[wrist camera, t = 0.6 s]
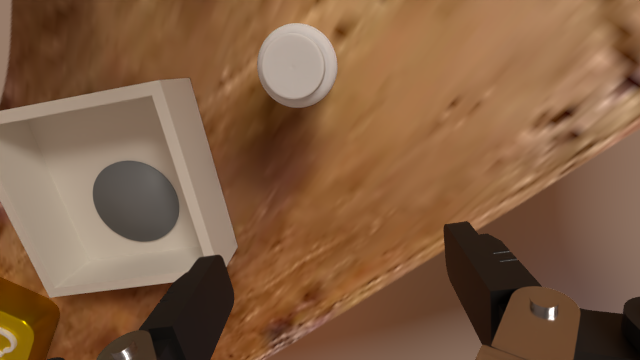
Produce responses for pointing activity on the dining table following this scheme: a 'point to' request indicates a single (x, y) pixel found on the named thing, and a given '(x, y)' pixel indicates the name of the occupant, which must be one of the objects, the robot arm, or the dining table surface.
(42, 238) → the box
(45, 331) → the element tile
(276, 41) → the supplement bottle
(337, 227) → the dining table surface
